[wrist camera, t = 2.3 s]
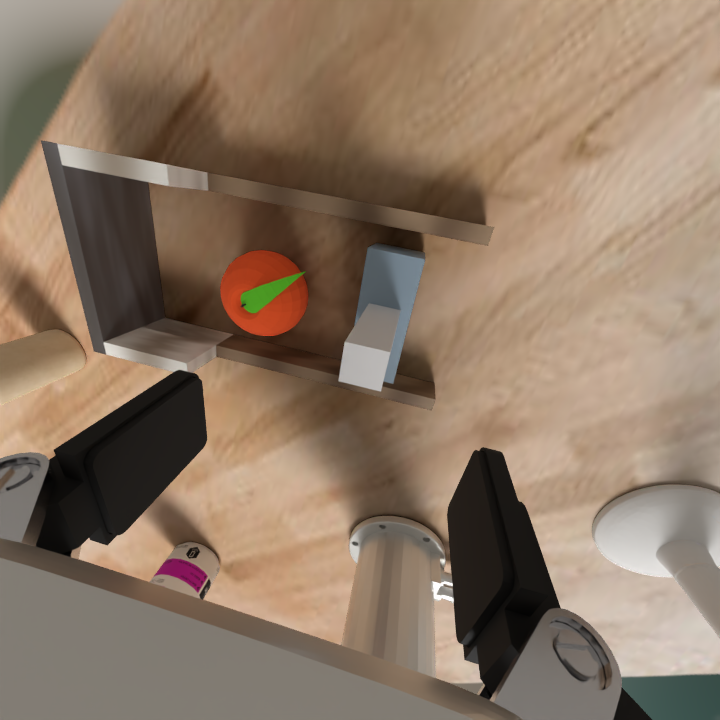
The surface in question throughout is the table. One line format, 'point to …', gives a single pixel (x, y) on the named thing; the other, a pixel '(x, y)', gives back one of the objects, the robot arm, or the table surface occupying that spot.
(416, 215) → the frame
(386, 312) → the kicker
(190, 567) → the supplement can
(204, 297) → the table surface
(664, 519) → the candlestick
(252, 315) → the clementine
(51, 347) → the candle
